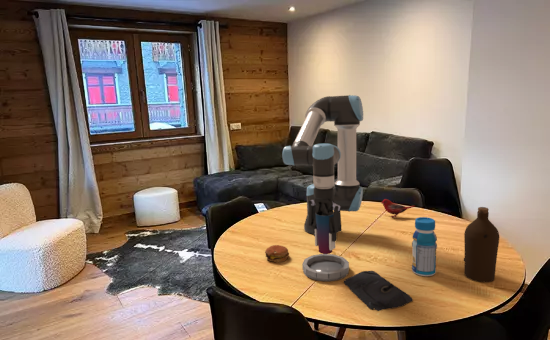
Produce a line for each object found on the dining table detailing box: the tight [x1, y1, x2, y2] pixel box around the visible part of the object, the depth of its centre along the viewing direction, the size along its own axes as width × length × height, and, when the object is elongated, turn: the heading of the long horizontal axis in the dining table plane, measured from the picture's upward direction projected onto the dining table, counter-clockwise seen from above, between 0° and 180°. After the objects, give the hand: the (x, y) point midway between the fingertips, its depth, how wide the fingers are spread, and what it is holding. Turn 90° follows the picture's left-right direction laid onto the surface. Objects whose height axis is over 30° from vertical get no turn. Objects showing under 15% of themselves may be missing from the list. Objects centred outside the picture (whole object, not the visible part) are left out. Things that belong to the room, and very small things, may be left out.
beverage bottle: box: [411, 216, 438, 277], centre depth 136 cm, size 8×8×20 cm
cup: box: [315, 211, 334, 254], centre depth 140 cm, size 7×7×15 cm
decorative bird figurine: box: [380, 198, 416, 218], centre depth 199 cm, size 3×18×10 cm, turn 82°
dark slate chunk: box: [343, 270, 414, 312], centre depth 126 cm, size 15×22×5 cm
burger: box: [264, 244, 290, 263], centre depth 156 cm, size 10×9×5 cm
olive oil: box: [463, 206, 500, 283], centre depth 131 cm, size 11×11×25 cm
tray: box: [301, 253, 350, 282], centre depth 142 cm, size 17×17×3 cm
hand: (325, 246), depth 141 cm, fingers closed on cup, 6 cm apart
